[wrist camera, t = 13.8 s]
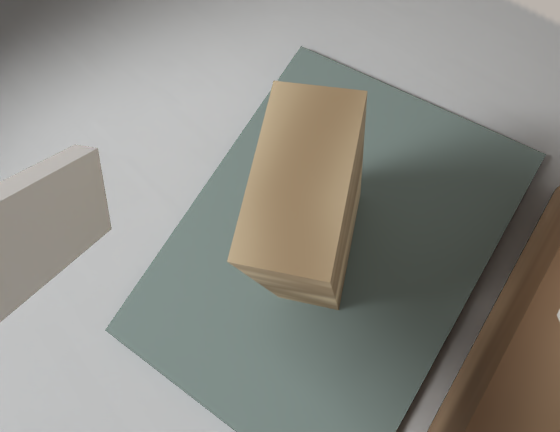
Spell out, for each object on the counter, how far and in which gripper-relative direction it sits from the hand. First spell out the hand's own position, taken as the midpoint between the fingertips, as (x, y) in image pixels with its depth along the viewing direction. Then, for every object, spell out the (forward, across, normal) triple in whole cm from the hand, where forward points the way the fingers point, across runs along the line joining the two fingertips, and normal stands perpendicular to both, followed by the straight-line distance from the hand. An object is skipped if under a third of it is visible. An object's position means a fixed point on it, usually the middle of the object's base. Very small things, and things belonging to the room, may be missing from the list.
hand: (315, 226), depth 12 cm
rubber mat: (+6, 0, -4) cm, 7 cm away
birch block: (+5, 0, -4) cm, 7 cm away
